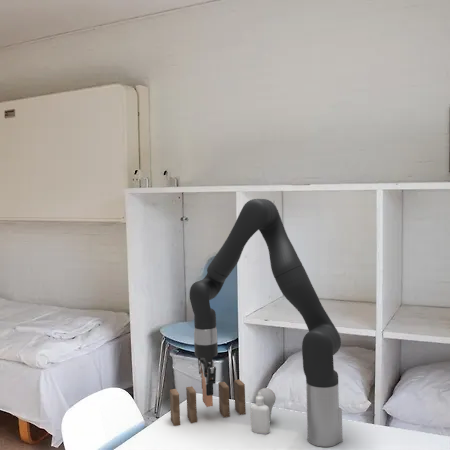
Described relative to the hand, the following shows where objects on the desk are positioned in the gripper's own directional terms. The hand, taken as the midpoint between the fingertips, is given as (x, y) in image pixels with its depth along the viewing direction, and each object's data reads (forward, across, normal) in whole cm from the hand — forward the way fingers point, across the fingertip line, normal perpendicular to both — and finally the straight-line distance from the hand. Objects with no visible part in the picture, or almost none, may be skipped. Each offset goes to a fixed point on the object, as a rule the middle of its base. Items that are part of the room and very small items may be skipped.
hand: (207, 391), depth 174 cm
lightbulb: (+8, -11, -16) cm, 21 cm away
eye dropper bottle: (+8, -16, -12) cm, 22 cm away
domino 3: (+4, 0, 0) cm, 4 cm away
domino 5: (+8, 0, -11) cm, 14 cm away
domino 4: (+8, 0, -6) cm, 10 cm away
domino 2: (+8, 0, +5) cm, 10 cm away
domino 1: (+8, 0, +11) cm, 14 cm away
